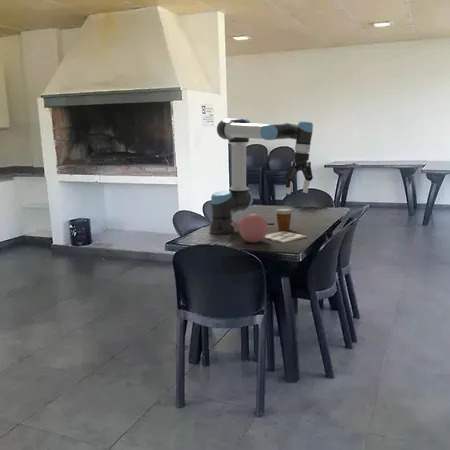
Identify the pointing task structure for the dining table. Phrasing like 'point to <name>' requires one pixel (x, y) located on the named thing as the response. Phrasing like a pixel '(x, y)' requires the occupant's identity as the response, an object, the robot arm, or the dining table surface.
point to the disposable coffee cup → (283, 218)
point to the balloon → (252, 227)
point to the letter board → (284, 236)
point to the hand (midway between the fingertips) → (296, 193)
